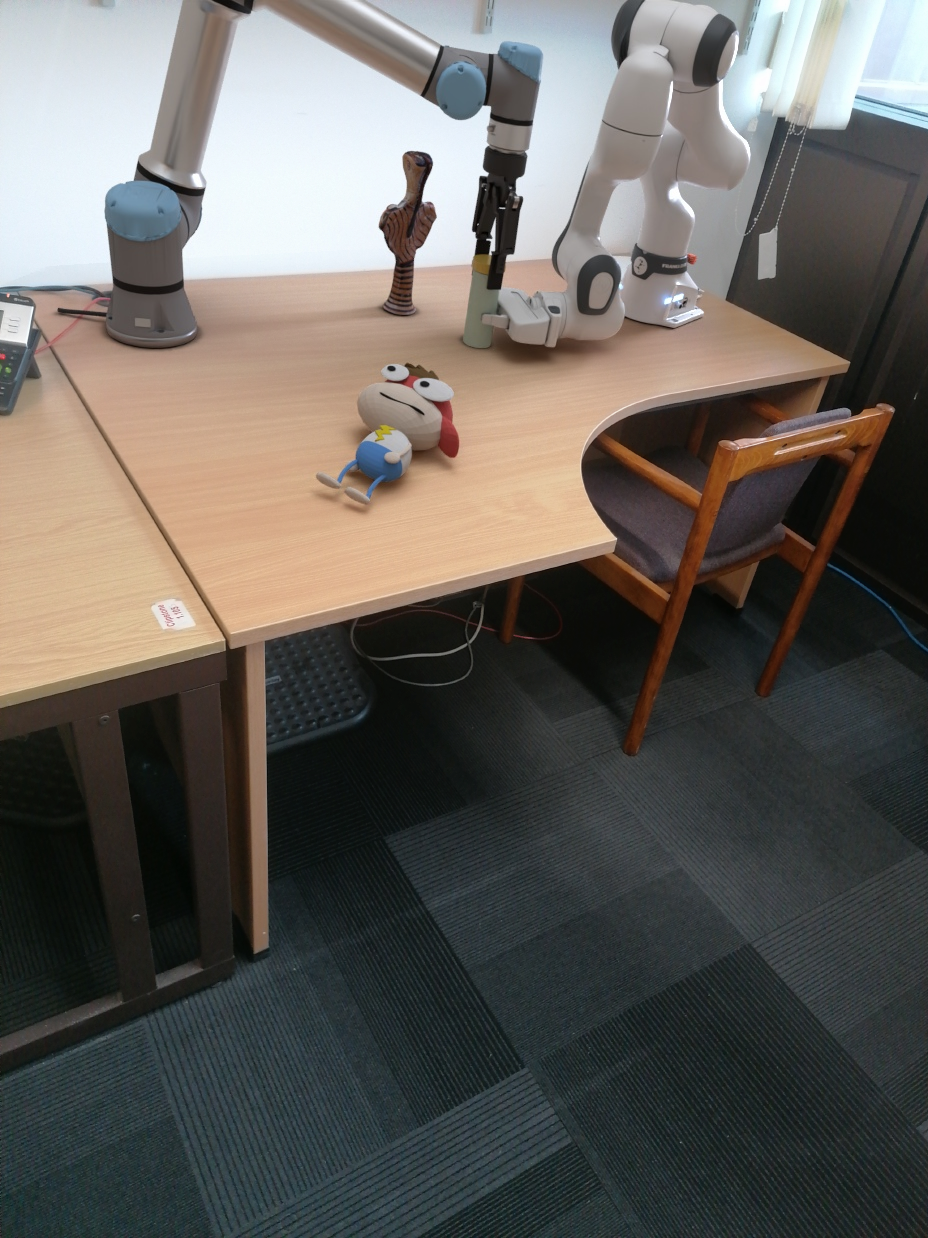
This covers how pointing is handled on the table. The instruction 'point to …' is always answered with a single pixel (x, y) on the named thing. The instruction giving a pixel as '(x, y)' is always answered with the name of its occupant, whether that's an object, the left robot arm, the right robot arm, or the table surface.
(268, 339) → the table surface
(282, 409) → the table surface
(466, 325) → the jar
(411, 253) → the figurine
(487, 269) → the lid
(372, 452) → the toy
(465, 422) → the table surface
